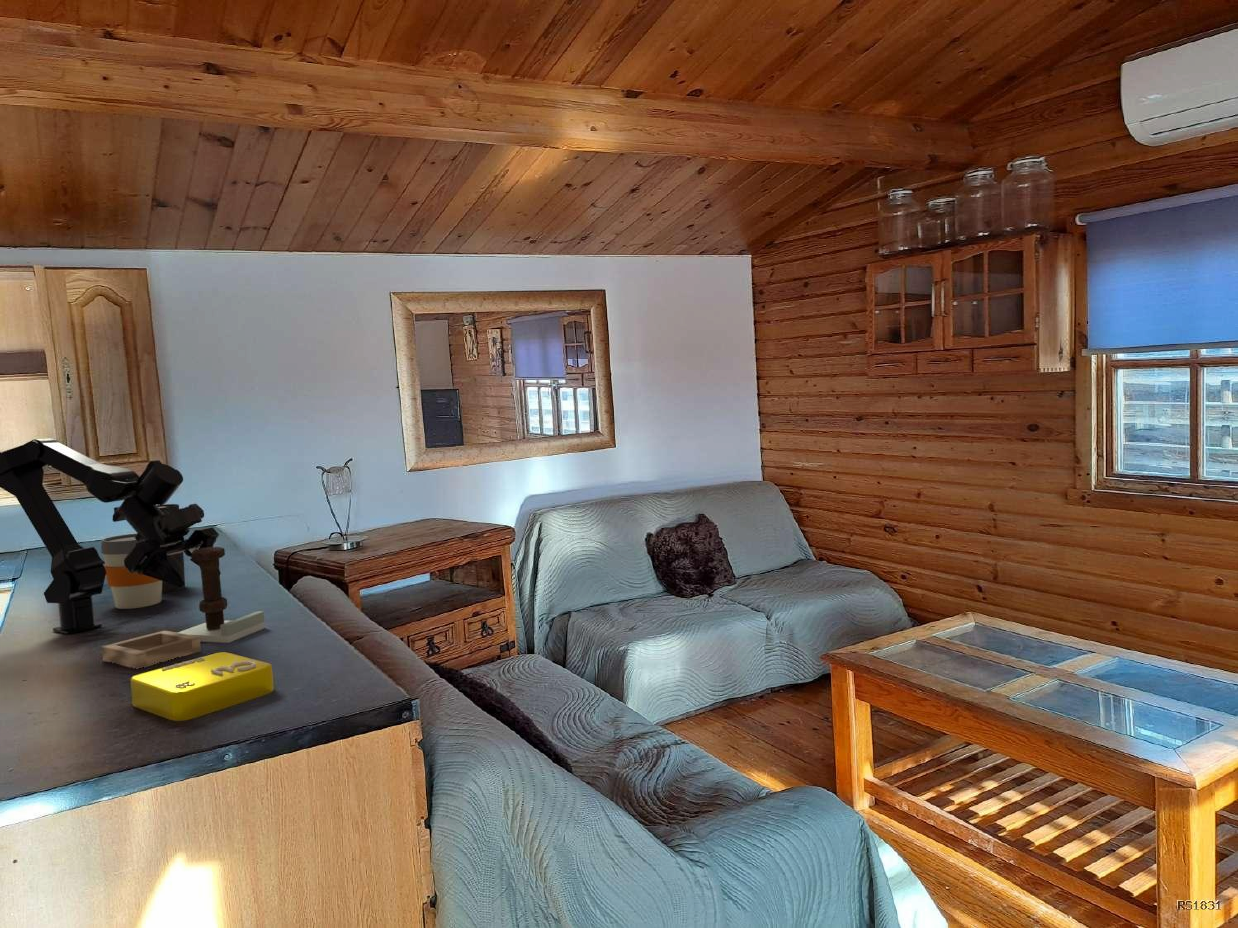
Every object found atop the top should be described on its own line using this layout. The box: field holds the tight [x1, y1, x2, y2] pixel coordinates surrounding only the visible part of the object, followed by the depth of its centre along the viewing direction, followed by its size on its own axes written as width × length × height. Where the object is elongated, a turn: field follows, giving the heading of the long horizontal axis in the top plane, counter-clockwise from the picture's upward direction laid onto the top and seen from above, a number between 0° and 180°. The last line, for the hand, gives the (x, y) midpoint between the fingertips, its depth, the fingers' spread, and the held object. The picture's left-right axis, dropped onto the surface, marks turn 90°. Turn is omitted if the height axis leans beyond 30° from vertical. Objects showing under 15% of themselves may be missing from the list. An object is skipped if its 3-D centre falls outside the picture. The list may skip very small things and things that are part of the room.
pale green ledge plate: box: [177, 610, 266, 644], centre depth 163 cm, size 12×10×3 cm
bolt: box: [191, 546, 228, 630], centre depth 162 cm, size 6×5×15 cm
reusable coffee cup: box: [100, 532, 163, 610], centre depth 193 cm, size 13×13×15 cm
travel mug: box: [157, 503, 186, 593], centre depth 208 cm, size 8×8×20 cm
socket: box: [101, 629, 202, 670], centre depth 151 cm, size 11×11×2 cm
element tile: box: [130, 651, 275, 722], centre depth 128 cm, size 15×15×5 cm
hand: (201, 580), depth 164 cm, fingers open, 9 cm apart
